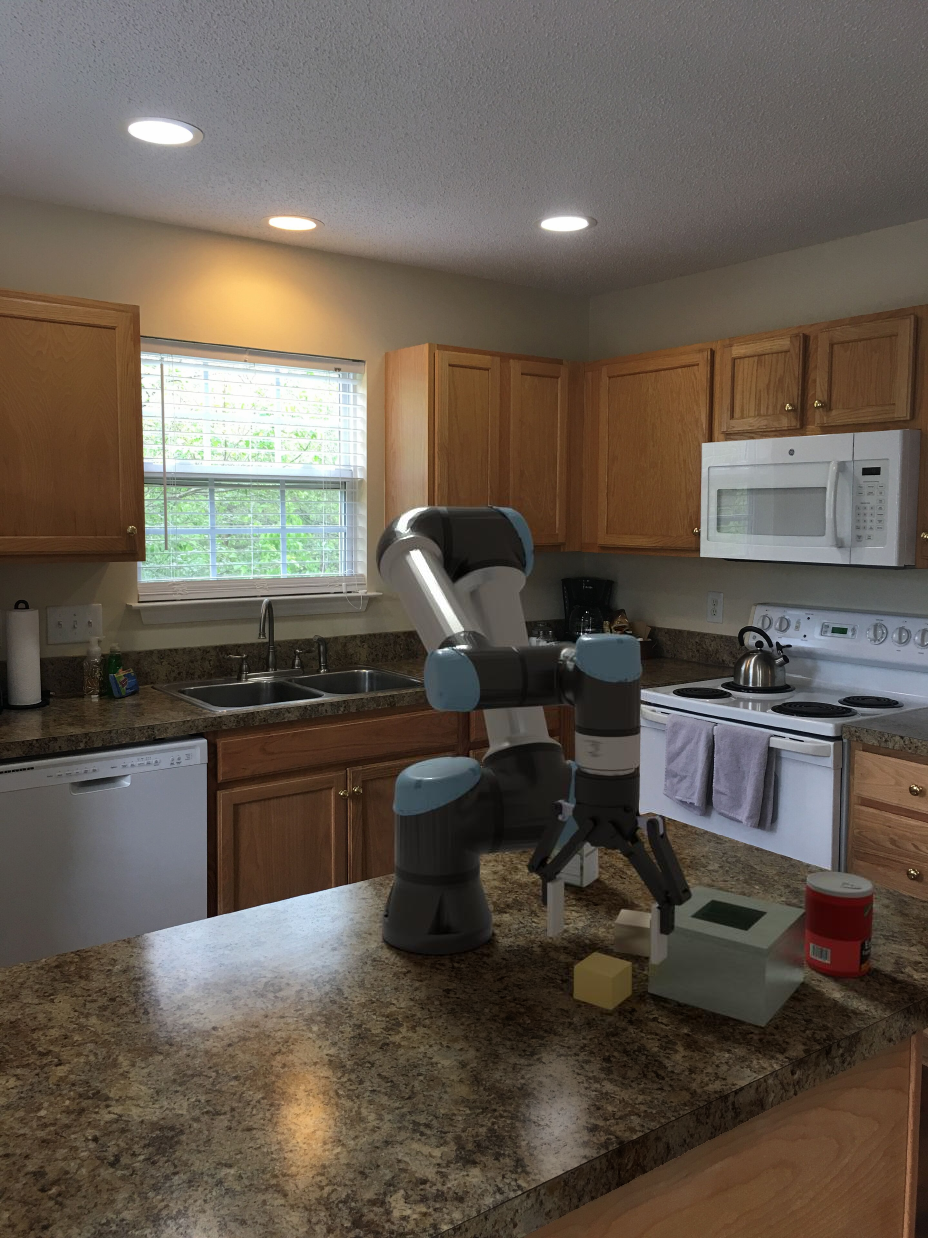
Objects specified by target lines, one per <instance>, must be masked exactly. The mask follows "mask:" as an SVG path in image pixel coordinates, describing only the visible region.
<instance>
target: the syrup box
mask: <svg viewBox="0 0 928 1238" xmlns="http://www.w3.org/2000/svg"><path fill="white" fill-rule="evenodd" d="M564 846H565V845H562V846H556V847H554V850H553V852H552V854H551V860H552V859H553V858H554V857H555V856H556V855H557V854H558V853H559V851H560V850H561V849H562V848H563V847H564ZM558 877H561V878H564V885H571V886H575V887H580V888H585V887H586V886H588V885H590V884H591V883H593V882H594V881H596V880H597V879H598V878H599V847H593V846H591V844H590V843H588V842H587V843H586V844H585V845H584V846H583V847H582V848H581V849H580V850H579V852H578V853H577V854H576V855H575V856H574V857H573V858H572V859H571V860H570V862H569V863H568V864H567V865H566V866H565V867H564V868H563V869H562V870H561V871H560V874H558V875H557V876H556V878H558Z"/></svg>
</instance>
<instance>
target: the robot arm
mask: <svg viewBox="0 0 928 1238" xmlns="http://www.w3.org/2000/svg"><path fill="white" fill-rule="evenodd" d="M528 525H529V524H528V523H527V520H525V518H524V517H523V515H522V514H521V513H520V512H519V511H517V510H514V509H513V508H510V507H502V506H501V507H499V506H497V505H496V506H495V505H485V506H436V505H432V506H431V505H423V506H419V507H414V508H411V509H409V510H407V511H406V510H405V512H402V513H401V514H400V515H398V516H397V517H395V518H394V519H393V520H392V521H391V522H390V523H389V524H388V525H387V526H386V527H385V529H384V530H383V532H382V534H381V536H380V538H379V540H378V543H377V545H376V550H375V562H376V568H377V571H378V574H379V576H380V578H381V579H382V581H383V584H384V585H385V587H387V588H388V589H389V590H390V591H392V592H394V593H395V594H397V596H398V597H399V599H400V602H401V604H402V606H403V608H404V609H405V611H406V613H407V616H408V617H409V619H410V621H411V622H412V625H413V627H414V629H415V631H416V633H417V635H418V636H419V638H420V639H419V640H420V641H421V642H422V644H423V647H424V648H425V650H426V652H427V654H428V655H427V656H426V660H425V662H424V668H423V684H424V689H425V693H426V699H427V701H428V703H429V705H430V706H431V707H432V708H433V709H434V710H437V711H441V712H448V711H449V712H455V711H456V712H459V713H466V712H467V713H468V712H471V711H472V712H473V711H480V710H481V711H482V710H483V715H484V720H485V726H486V732H487V737H488V743H489V749H488V750H487V752H486V753H485V755H484V756H483V757H482V761H481V763H482V766H481V764H480V762H479V761H478V760H476V759H475V758H473V757H466V756H456V757H452V756H443V757H437V758H430V759H427V760H424V761H420V762H417V763H414V764H411V765H409V766H408V767H406V768H405V769H404V770H402V771H401V772H400V773H399V774H398V776H397V778H396V780H395V787H394V799H393V803H392V810H393V812H394V813H393V814H394V815H393V816H394V821H393V822H394V825H393V827H394V878H393V881H392V884H391V887H390V891H389V893H388V897H387V899H386V902H385V907H384V910H383V912H382V915H381V917H382V918H381V935H382V937H383V939H384V940H385V942H387V943H388V944H389V945H391V946H393V947H394V948H398V949H400V950H402V951H406V952H410V953H415V954H422V955H450V954H452V955H453V954H457V953H458V954H459V953H463V952H467V951H472V950H474V949H476V948H479V947H481V946H482V945H484V944H485V943H487V942H488V941H489V940H490V939H491V938H492V935H493V928H494V927H493V925H494V924H493V922H494V920H493V914H492V911H491V909H490V907H489V904H488V899H487V895H486V892H485V889H484V886H483V882H482V879H481V856H482V855H490V854H491V855H493V854H501V853H510V852H521V851H530V850H534V851H533V853H532V856H531V858H530V860H529V862H528V864H527V867H526V868H527V871H528V872H529V873H530V874H536V875H537V876H539V878H540V880H541V903H542V905H543V906H545V907H546V908H547V909H546V921H547V922H546V924H547V925H546V935H547V936H548V937H551V938H554V937H555V936H557V935H558V934H560V933H562V932H564V930H565V883H564V878H561V877H558V878H556V876H557V875H558V874H560V871H561V870H562V869H563V868H564V867H565V866H566V865H567V864H568V863H569V862H570V860H571V859H572V858H573V857H574V856H575V855H576V854H577V853H578V852H579V850H580V849H581V848H582V847H583V846H584V845H585V844H586V843H587V842H588V843H590V844H591V846H593V847H598V848H601V847H602V848H604V849H607V850H609V851H616V850H619V852H620V853H621V855H622V856H623V857H624V858H626V859H628V861H629V863H630V864H631V866H632V868H633V869H634V870H635V872H636V873H637V875H638V876H639V878H640V879H641V881H642V882H643V884H644V886H646V889H647V890H648V891H649V892H650V894H651V896H652V897H653V899H654V900H655V901H656V903H654V905H652V906H651V908H650V909H651V912H650V913H651V963H652V964H656V965H657V964H658V963H660V962H661V961H662V960H663V959H665V958H666V957H667V935H669V934H670V933H672V932H673V930H674V928H675V905H677V906H681V905H682V904H684V903H685V902H687V901H688V900H689V899H691V897H692V893H691V891H690V890H691V889H690V886H689V884H688V881H687V879H686V877H685V875H684V872H683V870H682V867H681V865H680V862H679V860H678V858H677V856H676V853H675V851H674V849H673V847H672V844H671V841H670V839H669V836H668V835H667V833H668V832H667V824H666V818H665V816H664V815H662V814H657V815H655V816H642V815H641V813H640V810H639V803H640V791H641V788H640V786H641V784H640V783H641V776H640V774H641V773H640V772H639V770H638V769H637V768H638V767H639V766H640V765H641V729H640V728H641V708H642V707H641V706H642V703H641V702H642V700H641V699H642V695H641V694H642V674H643V666H642V664H641V663H642V662H641V643H640V641H639V640H638V639H637V638H636V637H635V636H633V635H628V634H618V633H588V634H583V635H580V636H579V637H578V638H577V639H576V642H575V643H574V642H572V641H567V640H566V641H552V642H548V643H546V644H542V645H541V644H539V645H530V641H529V636H528V630H527V626H526V621H525V616H524V612H523V607H522V602H521V598H520V592H521V591H522V589H523V588H524V587H525V585H526V581H527V580H526V578H528V577H529V575H530V574H531V572H532V570H533V565H534V559H535V557H534V553H533V550H534V542H533V537H532V533H531V530H530V528H529V526H528ZM550 706H551V707H553V706H570V707H572V708H574V760H573V761H572V760H571V759H567V760H565V754H564V750H563V747H562V744H561V743H559V742H558V741H557V740H555V739H553V738H551V737H550V736H549V732H548V731H549V730H548V726H547V720H546V718H545V717H546V716H545V713H544V708H543V707H550ZM640 828H641V830H643V833H642V834H643V835H644V836H646V837H647V841H648V843H649V844H648V845H649V847H650V849H651V851H652V854H653V856H654V859H655V861H656V863H655V861H654V860H653V858H652V857H651V856H650V854H649V852H648V850H646V848H645V843H644V841H643V840H642V839H641V837H640V836H639V834H638V833H637V832H638V831H639V830H640ZM562 845H565V846H564V847H563V848H562V849H561V850H560V851H559V853H558V854H557V855H556V856H555V857H554V858H553V859H552V858H551V857H552V852H553V850H554V847H556V846H562ZM550 858H551V860H550ZM549 860H550V861H549ZM656 864H657V865H656Z"/></svg>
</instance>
